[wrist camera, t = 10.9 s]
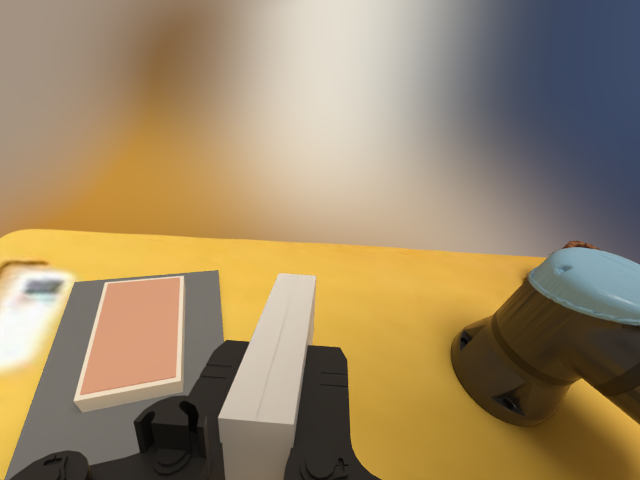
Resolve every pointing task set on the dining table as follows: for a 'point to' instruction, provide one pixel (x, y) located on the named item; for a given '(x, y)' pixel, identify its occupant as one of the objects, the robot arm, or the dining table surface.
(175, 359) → the tile
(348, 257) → the dining table surface
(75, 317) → the mat
